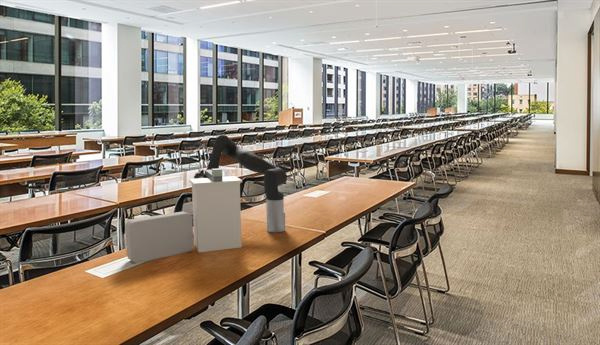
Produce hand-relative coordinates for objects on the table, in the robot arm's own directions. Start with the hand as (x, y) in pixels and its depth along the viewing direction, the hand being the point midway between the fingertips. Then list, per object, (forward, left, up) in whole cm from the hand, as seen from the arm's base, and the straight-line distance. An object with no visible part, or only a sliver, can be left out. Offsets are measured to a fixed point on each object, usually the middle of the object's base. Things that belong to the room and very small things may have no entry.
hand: (210, 171), depth 222 cm
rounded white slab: (+26, +17, -35) cm, 47 cm away
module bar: (0, +7, -2) cm, 8 cm away
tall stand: (0, +13, -34) cm, 37 cm away
